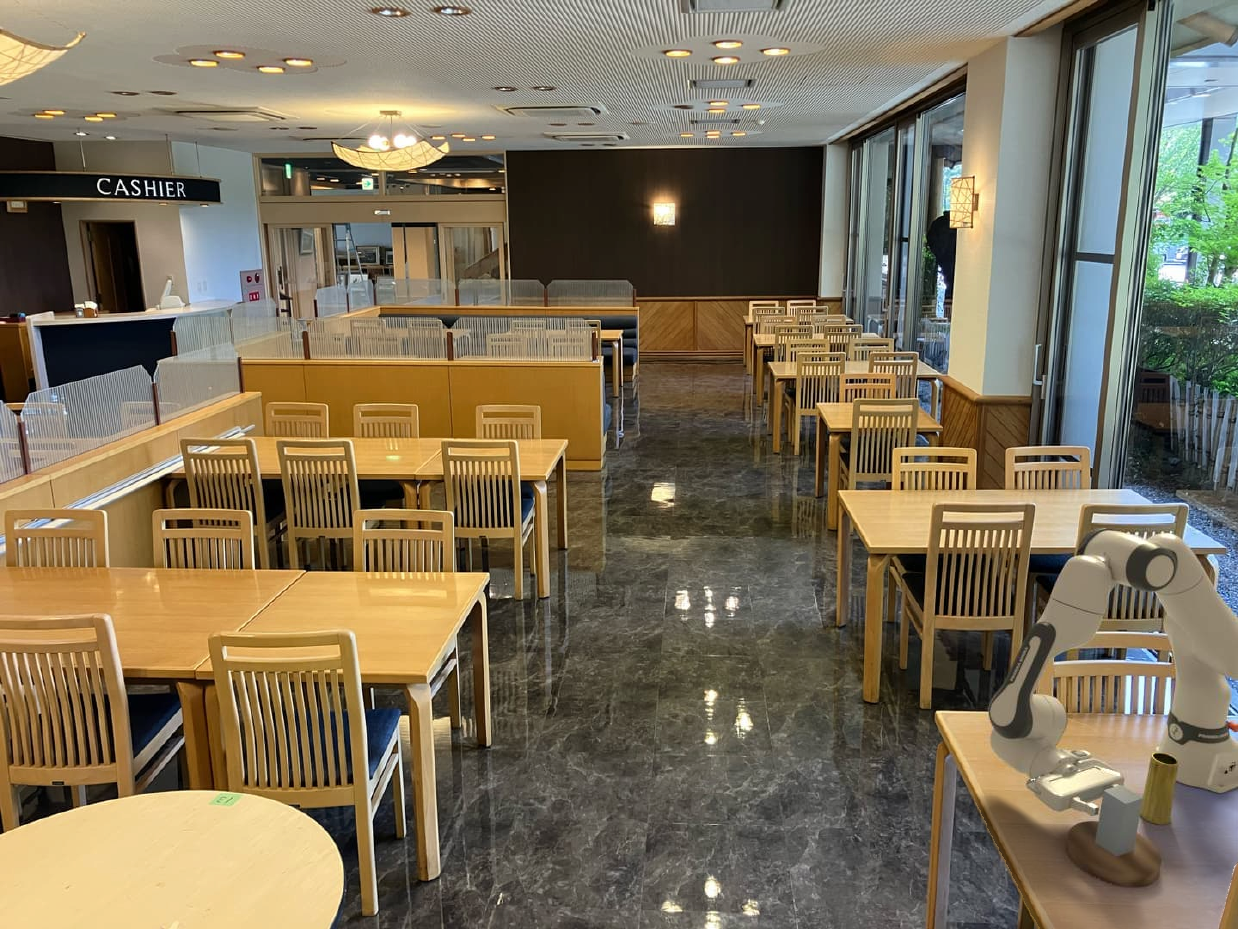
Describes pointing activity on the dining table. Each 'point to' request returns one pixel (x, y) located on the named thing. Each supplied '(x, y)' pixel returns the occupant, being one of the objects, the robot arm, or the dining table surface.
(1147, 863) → the walnut base
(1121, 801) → the gray block
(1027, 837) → the dining table surface
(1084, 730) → the dining table surface
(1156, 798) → the vase
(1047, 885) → the dining table surface
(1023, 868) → the dining table surface
